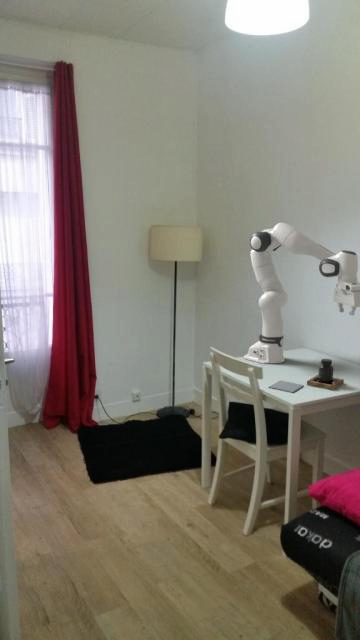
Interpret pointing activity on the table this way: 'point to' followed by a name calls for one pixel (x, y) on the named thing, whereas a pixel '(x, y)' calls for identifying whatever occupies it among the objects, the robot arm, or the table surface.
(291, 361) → the table surface
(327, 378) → the supplement bottle
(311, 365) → the table surface
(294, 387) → the grey mat
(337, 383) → the frame
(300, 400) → the table surface
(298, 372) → the table surface
